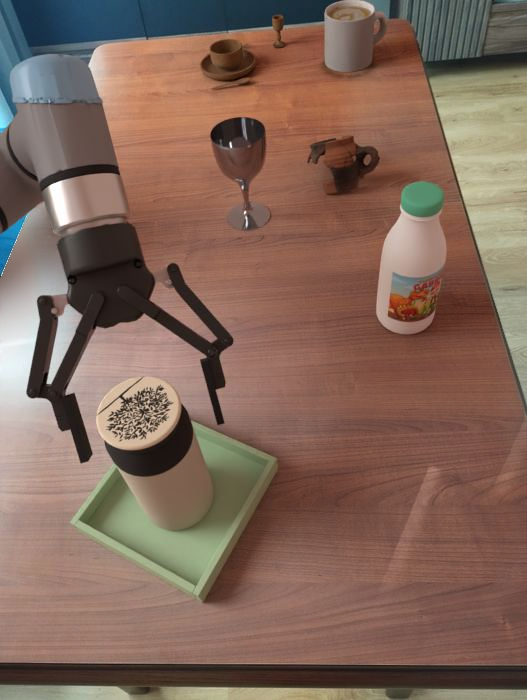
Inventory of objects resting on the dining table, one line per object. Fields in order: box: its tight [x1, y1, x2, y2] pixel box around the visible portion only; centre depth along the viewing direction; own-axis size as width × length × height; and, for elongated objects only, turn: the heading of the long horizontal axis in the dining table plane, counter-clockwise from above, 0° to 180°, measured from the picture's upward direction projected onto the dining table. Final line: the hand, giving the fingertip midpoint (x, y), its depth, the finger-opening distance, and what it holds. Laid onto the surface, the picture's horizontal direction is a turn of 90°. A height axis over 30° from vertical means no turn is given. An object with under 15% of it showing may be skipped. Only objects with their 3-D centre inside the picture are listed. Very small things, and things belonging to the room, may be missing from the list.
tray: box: [69, 419, 279, 604], centre depth 64 cm, size 16×16×2 cm
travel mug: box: [95, 375, 214, 531], centre depth 58 cm, size 8×8×18 cm
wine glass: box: [209, 116, 271, 231], centre depth 89 cm, size 8×8×15 cm
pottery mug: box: [306, 135, 381, 195], centre depth 97 cm, size 12×10×8 cm
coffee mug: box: [324, 0, 388, 73], centre depth 120 cm, size 13×10×10 cm
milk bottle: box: [375, 180, 448, 335], centre depth 71 cm, size 8×8×20 cm
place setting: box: [199, 14, 286, 90], centre depth 124 cm, size 18×20×6 cm
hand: (154, 440), depth 58 cm, fingers open, 13 cm apart
